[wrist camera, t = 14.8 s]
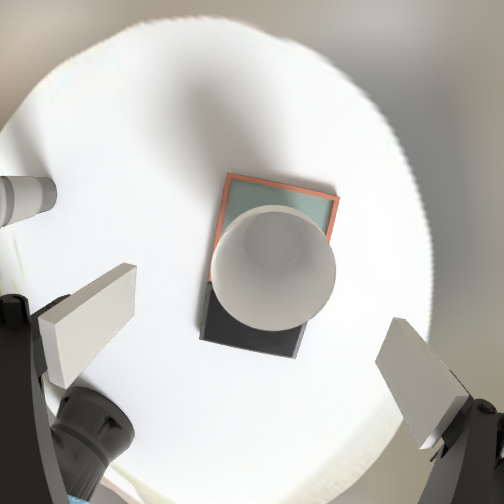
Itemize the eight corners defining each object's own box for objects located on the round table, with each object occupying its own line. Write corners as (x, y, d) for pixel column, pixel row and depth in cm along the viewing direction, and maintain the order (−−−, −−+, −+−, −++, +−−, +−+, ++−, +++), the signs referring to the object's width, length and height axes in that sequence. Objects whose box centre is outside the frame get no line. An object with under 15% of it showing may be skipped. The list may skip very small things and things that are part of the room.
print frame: (209, 277, 34) (208, 280, 33) (228, 172, 31) (227, 172, 30) (311, 299, 33) (312, 302, 32) (338, 196, 30) (340, 197, 29)
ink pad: (201, 334, 36) (197, 341, 34) (209, 279, 34) (206, 285, 32) (294, 353, 35) (295, 361, 34) (311, 300, 34) (313, 307, 32)
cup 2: (258, 181, 30) (249, 183, 19) (331, 225, 31) (363, 253, 19) (217, 253, 33) (187, 294, 21) (287, 293, 33) (292, 351, 21)
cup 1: (48, 159, 32) (-16, 160, 20) (70, 193, 32) (4, 203, 21) (25, 195, 33) (-35, 206, 21) (45, 228, 34) (-15, 248, 22)
